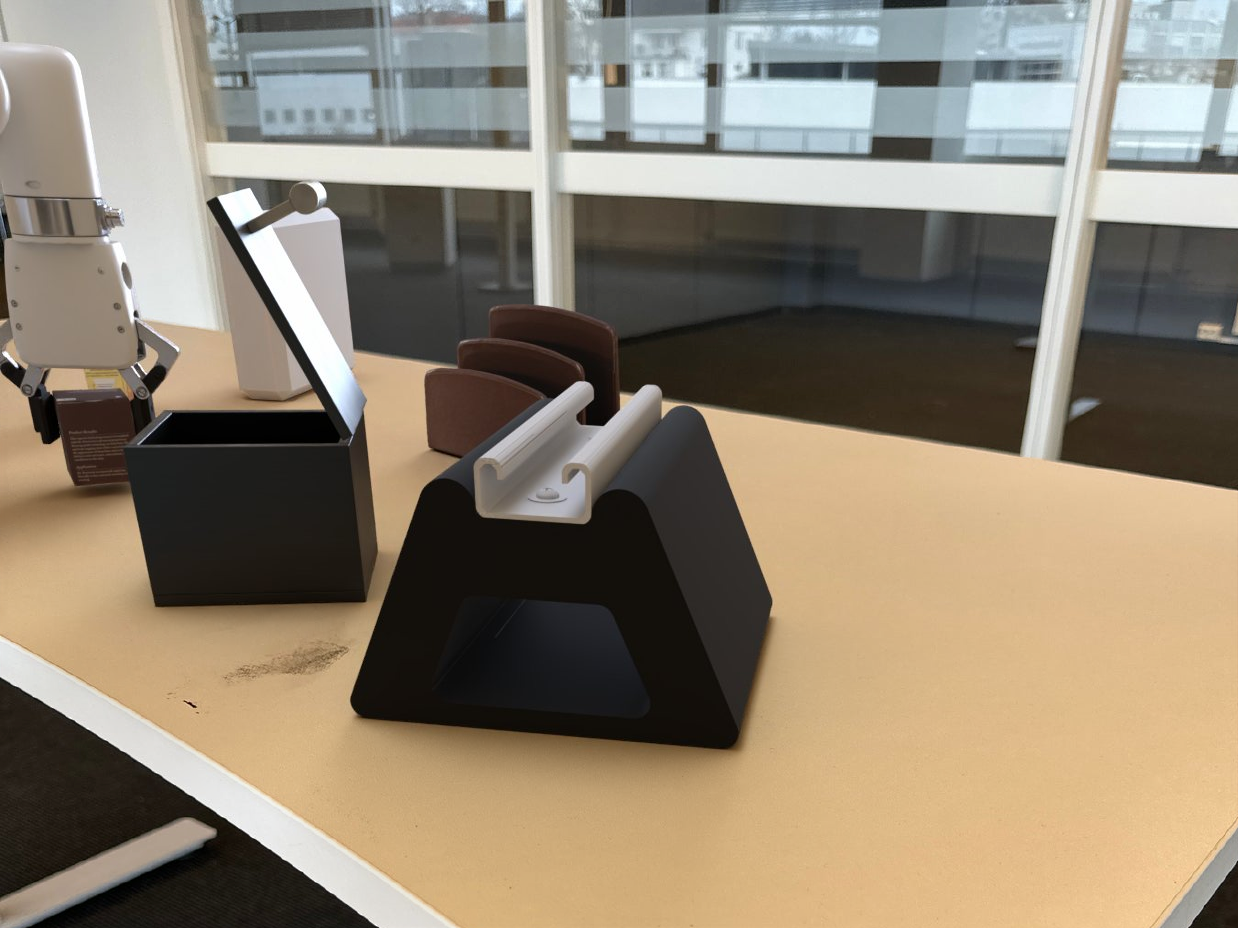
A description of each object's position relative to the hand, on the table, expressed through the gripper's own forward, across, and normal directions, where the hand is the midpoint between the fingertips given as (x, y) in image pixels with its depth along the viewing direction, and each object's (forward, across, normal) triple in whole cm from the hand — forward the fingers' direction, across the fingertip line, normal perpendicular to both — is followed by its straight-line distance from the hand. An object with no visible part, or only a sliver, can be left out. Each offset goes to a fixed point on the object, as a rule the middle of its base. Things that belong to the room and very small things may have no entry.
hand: (98, 440), depth 111 cm
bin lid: (-14, -22, +28) cm, 38 cm away
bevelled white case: (+3, -11, -52) cm, 54 cm away
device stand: (+4, -41, +46) cm, 62 cm away
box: (+3, 0, 0) cm, 3 cm away
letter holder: (+3, -39, -10) cm, 40 cm away
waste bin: (+4, -19, +28) cm, 34 cm away
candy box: (+4, +7, -34) cm, 35 cm away
